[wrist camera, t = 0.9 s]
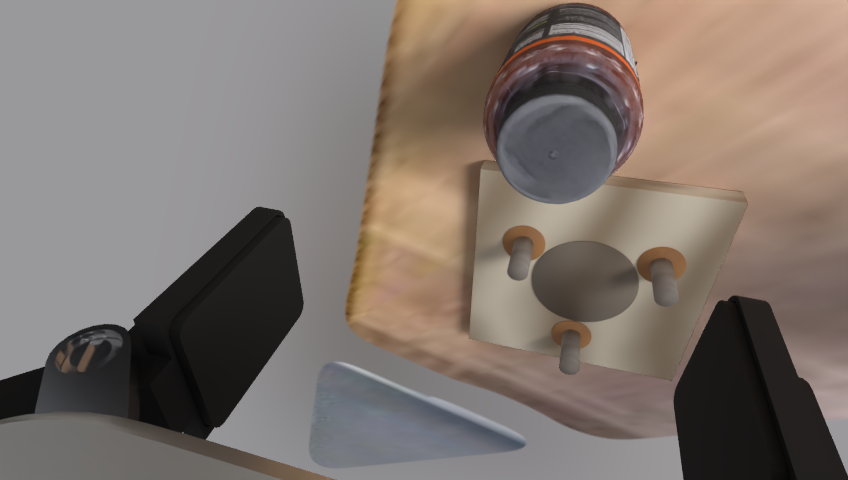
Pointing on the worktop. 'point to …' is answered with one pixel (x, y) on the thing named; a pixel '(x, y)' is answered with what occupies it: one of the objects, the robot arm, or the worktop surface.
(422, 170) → the worktop surface
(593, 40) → the supplement bottle
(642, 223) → the pin board
